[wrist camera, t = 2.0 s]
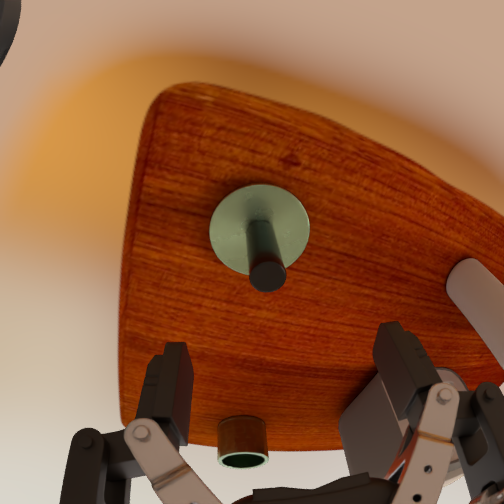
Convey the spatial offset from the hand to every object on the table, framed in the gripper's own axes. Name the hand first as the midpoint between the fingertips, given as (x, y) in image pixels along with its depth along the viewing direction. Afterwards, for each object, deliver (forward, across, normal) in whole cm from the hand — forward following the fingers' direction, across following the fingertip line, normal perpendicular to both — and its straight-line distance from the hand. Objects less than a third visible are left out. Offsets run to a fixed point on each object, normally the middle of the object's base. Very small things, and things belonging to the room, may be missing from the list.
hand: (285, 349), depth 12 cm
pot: (+12, +4, +28) cm, 31 cm away
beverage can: (+12, -20, +7) cm, 25 cm away
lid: (+11, 0, 0) cm, 11 cm away
